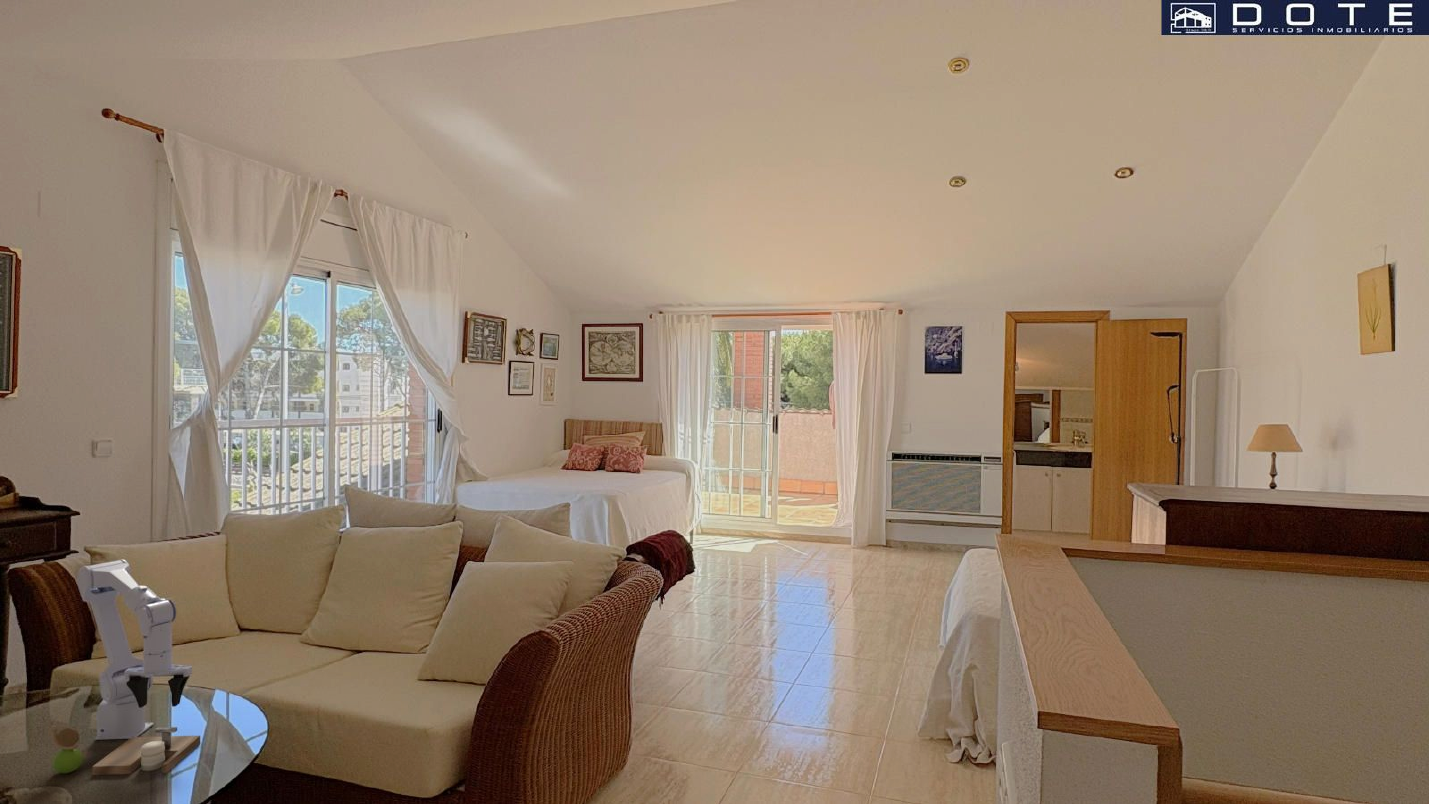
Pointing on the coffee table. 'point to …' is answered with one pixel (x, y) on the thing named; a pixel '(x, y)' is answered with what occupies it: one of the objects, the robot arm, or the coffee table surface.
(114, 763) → the shelf board
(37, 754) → the coffee table surface
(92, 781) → the coffee table surface
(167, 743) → the hook post
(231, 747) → the coffee table surface
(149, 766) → the ribbed cream cylinder
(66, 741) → the snail figurine
